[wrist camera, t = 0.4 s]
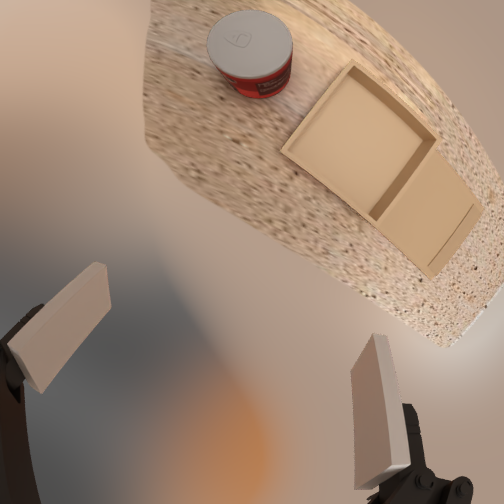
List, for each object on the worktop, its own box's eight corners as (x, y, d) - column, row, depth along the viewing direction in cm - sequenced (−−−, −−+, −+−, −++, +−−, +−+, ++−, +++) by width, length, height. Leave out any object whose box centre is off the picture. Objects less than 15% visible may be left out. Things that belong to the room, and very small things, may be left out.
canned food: (231, 44, 31) (212, 8, 20) (293, 49, 30) (296, 12, 20) (223, 97, 33) (200, 75, 23) (287, 103, 33) (288, 81, 22)
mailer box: (279, 151, 35) (279, 151, 30) (344, 68, 30) (352, 58, 26) (430, 279, 38) (443, 292, 34) (482, 208, 33) (499, 214, 29)
